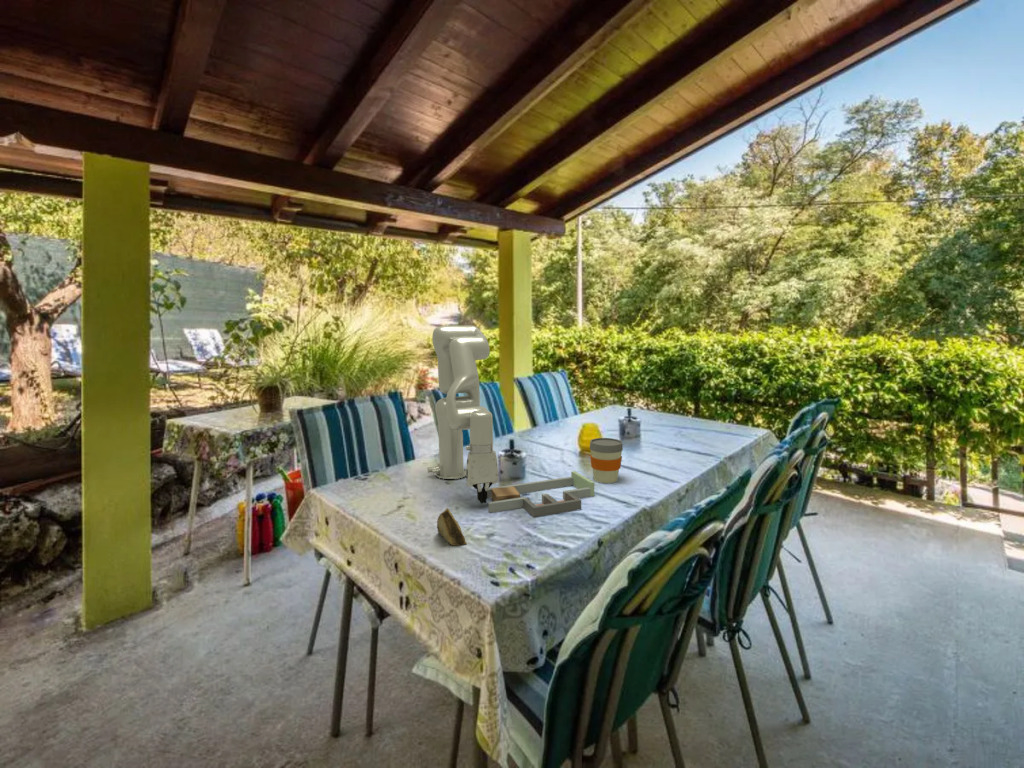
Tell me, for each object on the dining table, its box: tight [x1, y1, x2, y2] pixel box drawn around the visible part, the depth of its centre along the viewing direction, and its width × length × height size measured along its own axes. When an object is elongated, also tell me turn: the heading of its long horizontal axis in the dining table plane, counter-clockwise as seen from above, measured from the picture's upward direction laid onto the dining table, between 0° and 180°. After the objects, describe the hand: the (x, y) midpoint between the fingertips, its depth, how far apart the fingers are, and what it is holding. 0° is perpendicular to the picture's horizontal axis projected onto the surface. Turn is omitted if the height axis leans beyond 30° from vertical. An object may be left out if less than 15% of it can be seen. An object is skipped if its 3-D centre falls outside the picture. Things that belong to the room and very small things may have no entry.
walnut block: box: [491, 487, 521, 502], centre depth 161 cm, size 8×8×4 cm
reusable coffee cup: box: [589, 437, 624, 484], centre depth 183 cm, size 13×13×15 cm
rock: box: [436, 507, 467, 546], centre depth 134 cm, size 11×9×10 cm
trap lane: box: [476, 470, 595, 518], centre depth 161 cm, size 38×22×5 cm, turn 111°
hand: (482, 501), depth 158 cm, fingers closed
